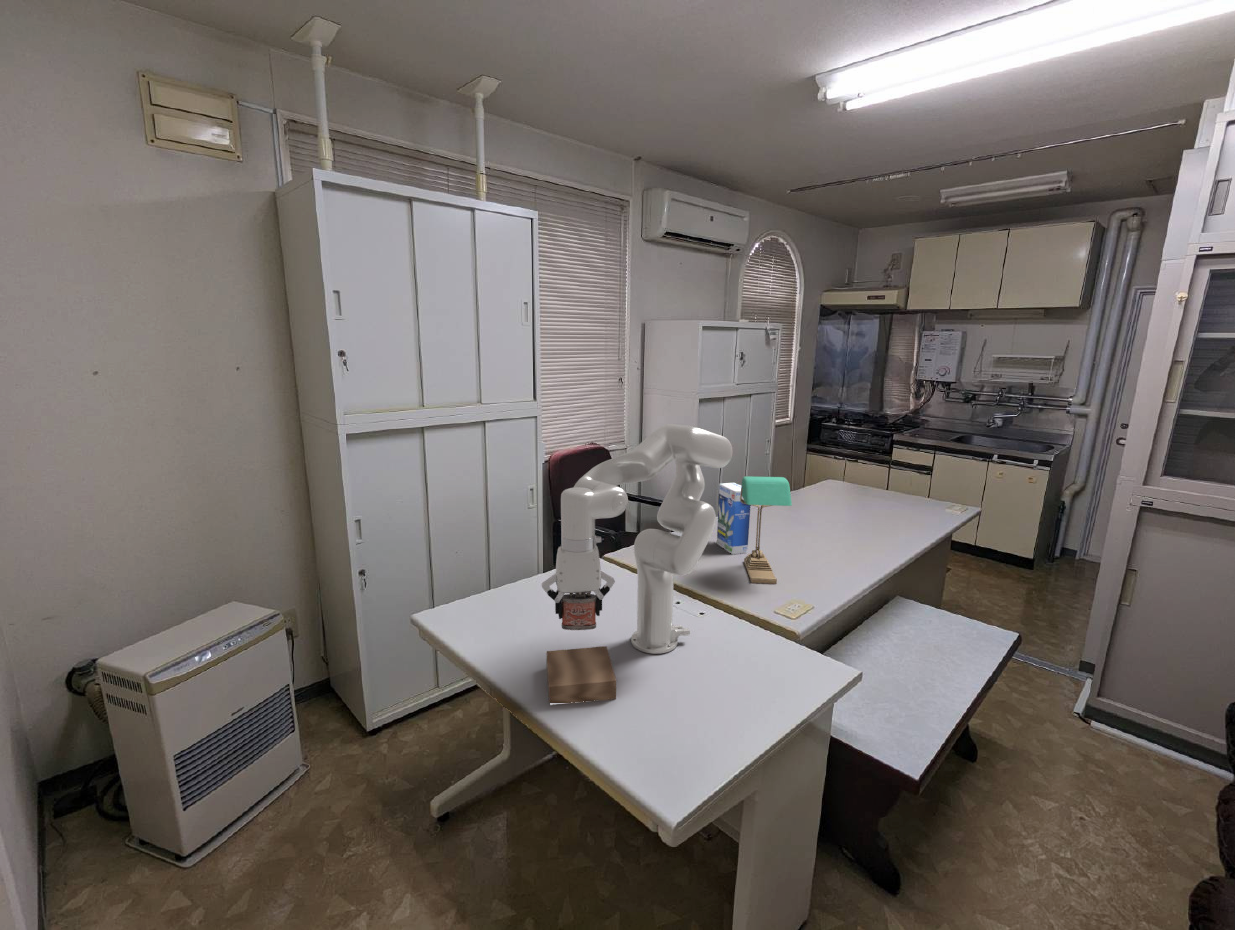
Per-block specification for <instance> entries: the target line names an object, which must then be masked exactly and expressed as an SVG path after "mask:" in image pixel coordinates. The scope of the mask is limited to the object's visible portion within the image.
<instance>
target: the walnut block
mask: <svg viewBox="0 0 1235 930" xmlns="http://www.w3.org/2000/svg"><path fill="white" fill-rule="evenodd" d="M546 673H547V674H548V676H547V685H548V687H547V688H548V689H549V690H548V689H547V690H548V704H549V703H571V702H573V703H571V704H576V703H575V702H581V703H587V702H586V701H591V702H597V701H596V700H601V701H608V700H609V701H610V700H611V701H612V700H616V699H617V679H616V675H615V672H614V667H613V664H612V660H611V658H610V654H609V650H608V646H606V645H605V646H593V647H580V648H569V649H557V650H556V649H555V650H546ZM547 674H546V675H547ZM594 700H595V701H594ZM583 701H584V702H583Z"/></svg>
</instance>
